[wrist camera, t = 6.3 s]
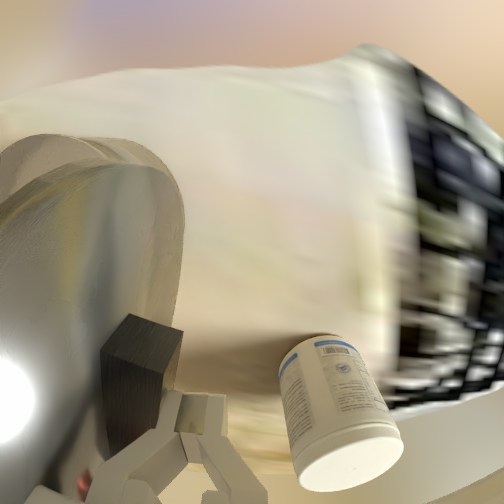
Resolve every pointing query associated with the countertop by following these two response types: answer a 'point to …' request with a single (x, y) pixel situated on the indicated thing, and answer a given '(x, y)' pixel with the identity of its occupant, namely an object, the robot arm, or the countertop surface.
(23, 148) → the cooker pot
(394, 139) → the countertop surface
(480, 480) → the robot arm
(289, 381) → the supplement tub
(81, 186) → the cooker lid
